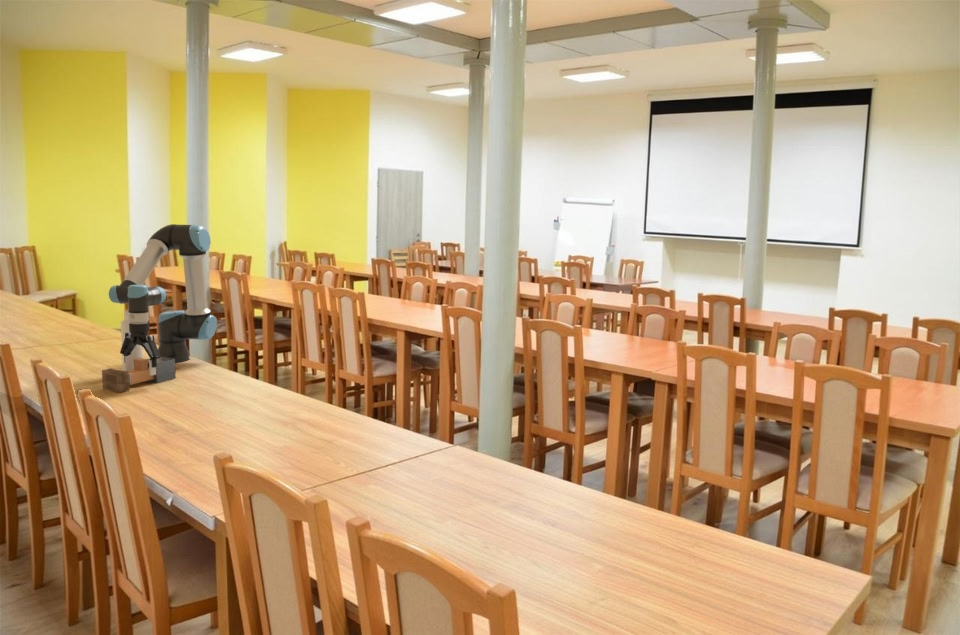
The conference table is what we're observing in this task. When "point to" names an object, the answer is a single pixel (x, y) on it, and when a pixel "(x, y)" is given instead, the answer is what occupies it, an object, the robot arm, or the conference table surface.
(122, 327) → the bottle
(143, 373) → the inner bar
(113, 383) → the brown rectangular block
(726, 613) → the conference table surface
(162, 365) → the sleeve
